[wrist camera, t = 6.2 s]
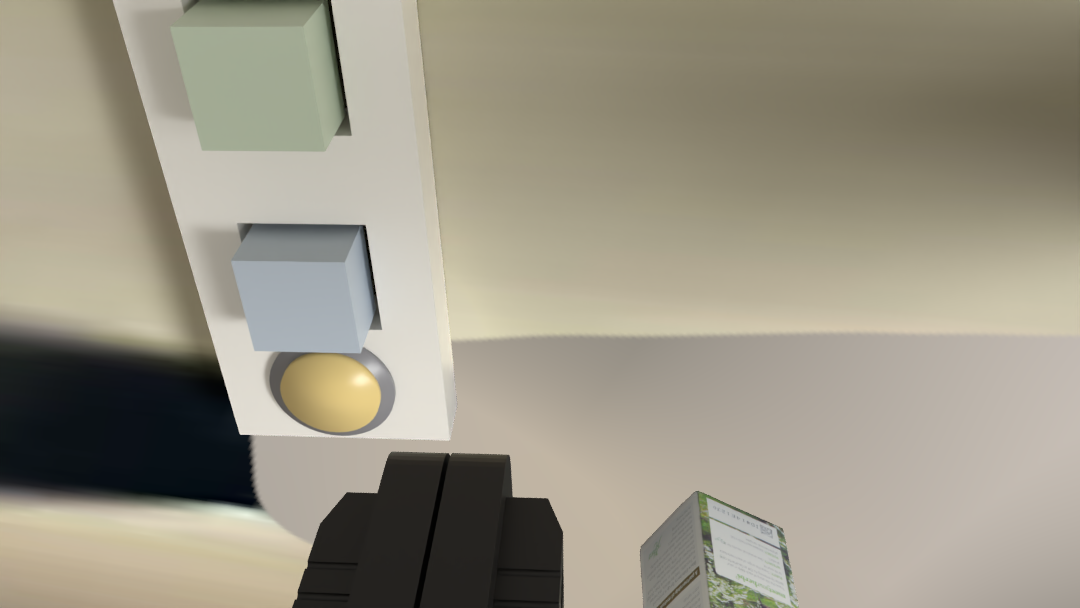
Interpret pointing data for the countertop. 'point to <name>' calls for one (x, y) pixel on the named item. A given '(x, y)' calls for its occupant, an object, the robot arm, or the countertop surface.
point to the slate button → (305, 287)
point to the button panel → (318, 198)
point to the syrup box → (716, 560)
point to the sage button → (260, 74)
